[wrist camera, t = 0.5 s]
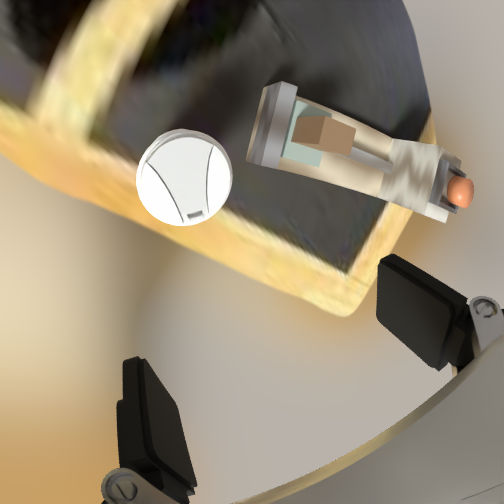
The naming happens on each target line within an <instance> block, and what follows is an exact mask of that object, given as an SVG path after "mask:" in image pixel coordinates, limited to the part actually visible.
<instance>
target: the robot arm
mask: <svg viewBox="0 0 504 504" xmlns="http://www.w3.org/2000/svg"><path fill="white" fill-rule="evenodd" d="M377 279H378V280H377V307H376V308H377V309H376V316H377V319H378V321H379V322H380V323H381V324H382V325H383V326H384V327H386V328H387V329H388V330H389V331H390V332H392V334H394V335H395V336H396V337H397V338H398V339H399V340H400V341H402V342H403V343H404V344H405V345H406V346H407V347H408V348H410V349H411V350H412V351H413V352H414V353H415V354H416V355H417V356H418V357H420V358H421V359H422V360H423V361H424V362H425V363H427V365H428V366H430V367H432V368H435V369H437V370H438V371H440V370H441V369H442V368H444V367H445V366H446V365H447V363H448V362H449V363H450V364H451V365H452V374H453V379H452V380H451V381H450V382H449V383H447V384H446V385H445V386H444V387H443V388H441V389H440V390H439V391H438V392H437V393H435V394H434V395H433V396H432V397H430V398H429V399H428V400H427V401H425V402H424V403H423V404H422V405H420V406H419V407H418V408H416V409H415V410H414V411H413V412H411V413H410V414H408V415H407V416H406V417H404V418H403V419H402V420H400V421H399V422H397V423H396V424H394V425H393V426H391V427H390V428H388V429H387V430H385V431H384V432H382V433H381V434H379V435H378V436H376V437H375V438H373V439H372V440H370V441H368V442H367V443H365V444H364V445H362V446H360V447H359V448H356V449H355V450H353V451H351V452H350V453H348V454H346V455H344V456H342V457H340V458H339V459H337V460H335V461H333V462H331V463H329V464H327V465H325V466H323V467H321V468H319V469H317V470H315V471H313V472H311V473H309V474H307V475H304V476H302V477H300V478H298V479H295V480H293V481H291V482H288V483H286V484H284V485H281V486H279V487H276V488H274V489H271V490H268V491H266V492H263V493H261V494H258V495H255V496H253V497H250V498H247V499H244V500H241V501H238V502H235V503H231V504H504V309H501V308H500V306H499V304H498V303H497V302H496V301H495V300H493V299H492V298H489V297H485V296H479V297H476V298H473V299H472V300H471V301H470V304H469V305H468V304H466V302H467V299H468V298H466V297H465V296H463V295H461V294H460V293H458V292H457V291H455V290H454V289H452V288H450V287H449V286H447V285H446V284H444V283H442V282H441V281H439V280H438V279H436V278H434V277H433V276H431V275H429V274H428V273H426V272H424V271H423V270H421V269H419V268H418V267H416V266H414V265H413V264H411V263H409V262H408V261H406V260H404V259H402V258H401V257H399V256H397V255H395V254H390V255H388V256H386V257H384V258H382V259H381V260H380V263H379V264H378V277H377ZM116 409H117V436H118V452H119V464H120V468H117V469H114V470H112V471H110V472H109V473H108V474H107V475H106V476H105V478H104V479H103V482H102V485H101V492H102V495H103V498H104V499H105V500H104V501H103V502H102V503H101V504H189V499H188V496H191V495H195V491H194V488H193V487H197V481H196V477H195V474H194V471H193V467H192V464H191V460H190V456H189V452H188V449H187V445H186V441H185V436H184V432H183V428H182V424H181V419H180V415H179V411H178V408H177V405H176V403H175V401H174V400H173V398H172V397H171V396H170V394H169V393H168V391H167V390H166V389H165V387H164V386H163V384H162V383H161V381H160V380H159V378H158V377H157V376H156V374H155V372H154V371H153V369H152V368H151V366H150V365H149V363H148V362H147V360H146V359H140V358H139V357H138V356H137V357H133V358H130V359H127V360H124V361H123V399H122V400H119V401H118V402H117V407H116Z"/></svg>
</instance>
